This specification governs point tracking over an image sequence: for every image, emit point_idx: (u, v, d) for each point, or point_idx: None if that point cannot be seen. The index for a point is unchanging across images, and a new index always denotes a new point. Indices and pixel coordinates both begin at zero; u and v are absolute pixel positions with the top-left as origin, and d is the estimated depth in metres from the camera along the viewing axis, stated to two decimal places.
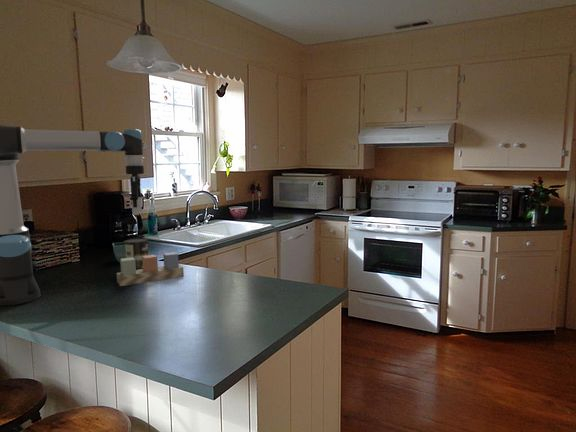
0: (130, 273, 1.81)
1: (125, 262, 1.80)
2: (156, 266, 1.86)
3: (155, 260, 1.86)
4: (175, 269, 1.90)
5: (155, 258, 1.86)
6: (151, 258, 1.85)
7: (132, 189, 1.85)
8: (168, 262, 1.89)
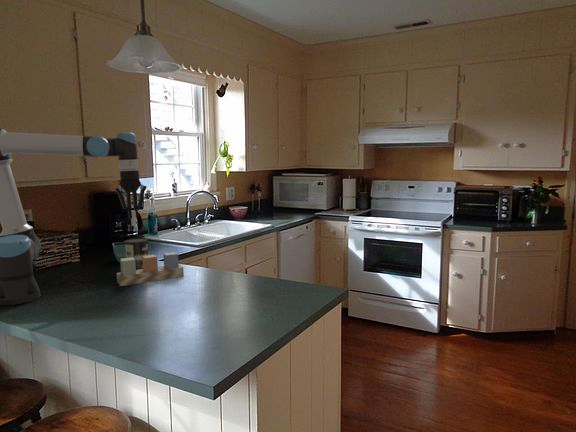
0: (130, 273, 1.81)
1: (125, 262, 1.80)
2: (156, 266, 1.86)
3: (155, 260, 1.86)
4: (175, 269, 1.90)
5: (155, 258, 1.86)
6: (151, 258, 1.85)
7: (120, 201, 1.84)
8: (168, 262, 1.89)
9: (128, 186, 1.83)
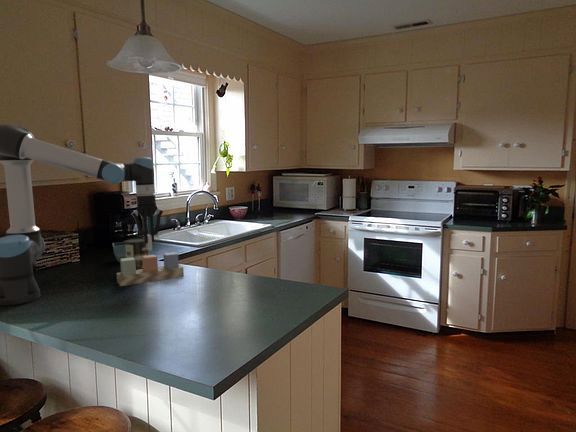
0: (130, 273, 1.81)
1: (125, 262, 1.80)
2: (156, 266, 1.86)
3: (155, 260, 1.86)
4: (175, 269, 1.90)
5: (155, 258, 1.86)
6: (151, 258, 1.85)
7: None
8: (168, 262, 1.89)
9: (145, 211, 1.82)
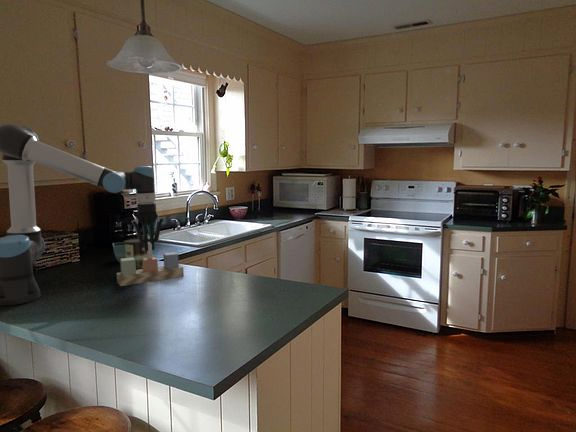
0: (130, 273, 1.81)
1: (125, 262, 1.80)
2: (156, 268, 1.86)
3: (155, 262, 1.86)
4: (175, 269, 1.90)
5: (155, 260, 1.86)
6: (151, 260, 1.85)
7: (137, 233, 1.84)
8: (168, 262, 1.89)
9: (145, 219, 1.82)
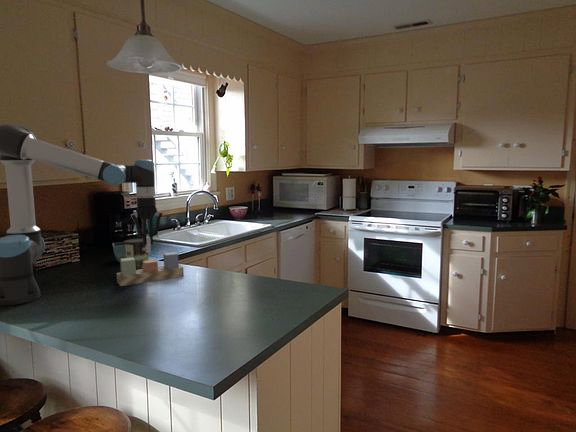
0: (130, 273, 1.81)
1: (125, 262, 1.80)
2: None
3: (155, 265, 1.86)
4: (175, 269, 1.90)
5: (155, 263, 1.86)
6: (151, 263, 1.85)
7: (136, 227, 1.83)
8: (168, 262, 1.89)
9: (144, 213, 1.82)
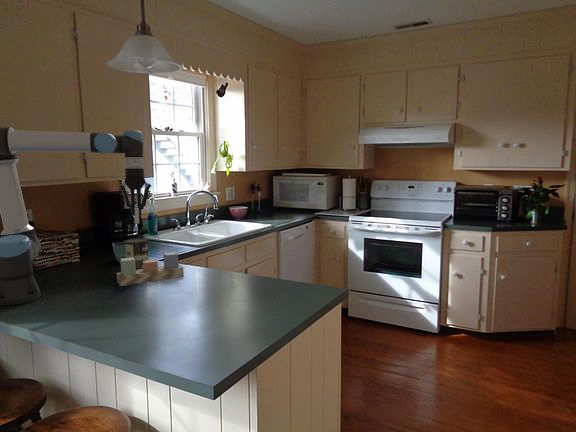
0: (130, 273, 1.81)
1: (125, 262, 1.80)
2: None
3: (155, 265, 1.86)
4: (175, 269, 1.90)
5: (155, 263, 1.86)
6: (151, 263, 1.85)
7: (124, 198, 1.85)
8: (168, 262, 1.89)
9: (132, 183, 1.83)
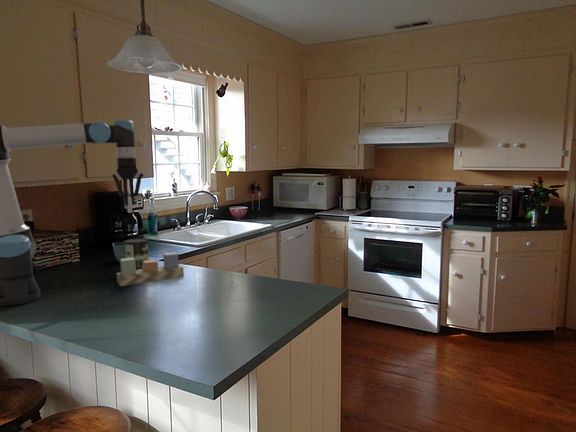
0: (130, 273, 1.81)
1: (125, 262, 1.80)
2: None
3: (155, 265, 1.86)
4: (175, 269, 1.90)
5: (155, 263, 1.86)
6: (151, 263, 1.85)
7: (117, 187, 1.86)
8: (168, 262, 1.89)
9: (125, 173, 1.85)
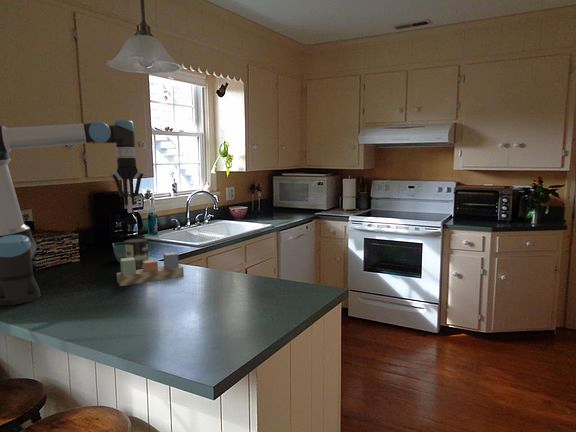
0: (130, 273, 1.81)
1: (125, 262, 1.80)
2: None
3: (155, 265, 1.86)
4: (175, 269, 1.90)
5: (155, 263, 1.86)
6: (151, 263, 1.85)
7: (117, 187, 1.86)
8: (168, 262, 1.89)
9: (125, 173, 1.85)
